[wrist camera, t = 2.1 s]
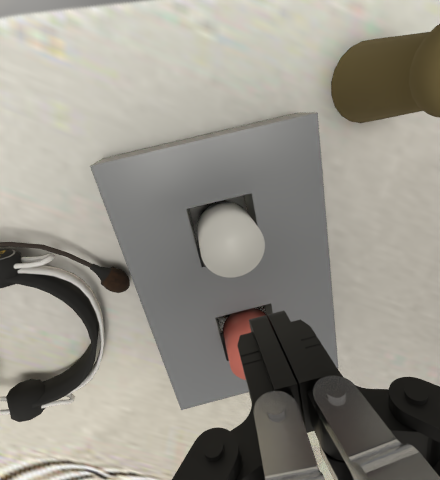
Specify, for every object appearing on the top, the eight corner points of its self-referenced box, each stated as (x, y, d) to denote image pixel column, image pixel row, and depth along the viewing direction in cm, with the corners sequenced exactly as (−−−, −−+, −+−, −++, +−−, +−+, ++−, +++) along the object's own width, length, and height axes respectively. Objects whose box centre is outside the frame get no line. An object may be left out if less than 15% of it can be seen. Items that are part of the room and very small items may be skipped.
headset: (-251, 277, 17) (127, 256, 23) (-144, 230, 24) (126, 223, 30) (-141, 479, 23) (135, 424, 29) (-81, 396, 30) (133, 364, 36)
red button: (266, 302, 28) (279, 331, 24) (273, 340, 29) (286, 372, 26) (218, 314, 28) (224, 345, 24) (228, 352, 29) (235, 386, 26)
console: (297, 112, 25) (317, 112, 22) (321, 341, 35) (338, 367, 31) (103, 158, 25) (90, 165, 21) (180, 378, 34) (181, 409, 30)
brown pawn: (368, 20, 23) (513, -52, 13) (416, 74, 25) (576, 47, 15) (316, 91, 25) (411, 76, 15) (365, 137, 27) (480, 151, 17)
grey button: (246, 195, 24) (259, 210, 20) (256, 246, 26) (269, 268, 22) (190, 209, 24) (193, 226, 20) (203, 259, 25) (208, 284, 22)
